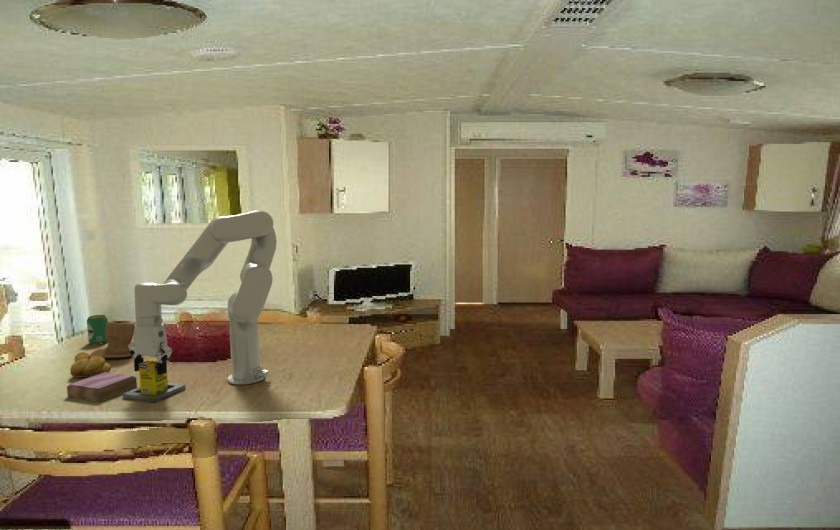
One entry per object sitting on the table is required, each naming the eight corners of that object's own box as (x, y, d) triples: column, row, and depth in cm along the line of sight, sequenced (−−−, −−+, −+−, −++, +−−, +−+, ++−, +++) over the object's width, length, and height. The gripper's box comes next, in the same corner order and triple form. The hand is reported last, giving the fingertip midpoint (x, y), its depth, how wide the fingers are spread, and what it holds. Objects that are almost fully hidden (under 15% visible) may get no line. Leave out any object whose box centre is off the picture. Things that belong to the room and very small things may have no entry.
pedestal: (136, 386, 177) (136, 375, 176) (99, 401, 164) (98, 389, 163) (106, 382, 182) (105, 371, 181) (67, 396, 168) (66, 384, 168)
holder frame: (185, 388, 175) (185, 384, 174) (154, 403, 162) (153, 398, 162) (155, 384, 179) (155, 380, 179) (122, 398, 167) (122, 393, 166)
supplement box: (156, 397, 167) (154, 364, 166) (140, 396, 168) (137, 363, 167) (169, 391, 173) (166, 359, 172) (153, 389, 174) (151, 358, 173)
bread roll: (116, 370, 195) (114, 349, 194) (101, 379, 185) (99, 357, 184) (81, 371, 194) (79, 350, 193) (64, 380, 185) (62, 358, 184)
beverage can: (85, 343, 234) (83, 317, 232) (104, 339, 240) (102, 313, 239) (93, 345, 229) (91, 319, 228) (112, 341, 236) (110, 315, 234)
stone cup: (143, 352, 219) (140, 317, 217) (127, 360, 207) (124, 323, 205) (107, 352, 219) (104, 317, 217) (89, 361, 207) (86, 324, 205)
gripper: (178, 320, 168) (180, 372, 170) (138, 316, 174) (139, 365, 176) (160, 325, 161) (162, 378, 163) (118, 320, 167) (120, 372, 169)
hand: (150, 372), depth 169 cm, fingers open, 9 cm apart
